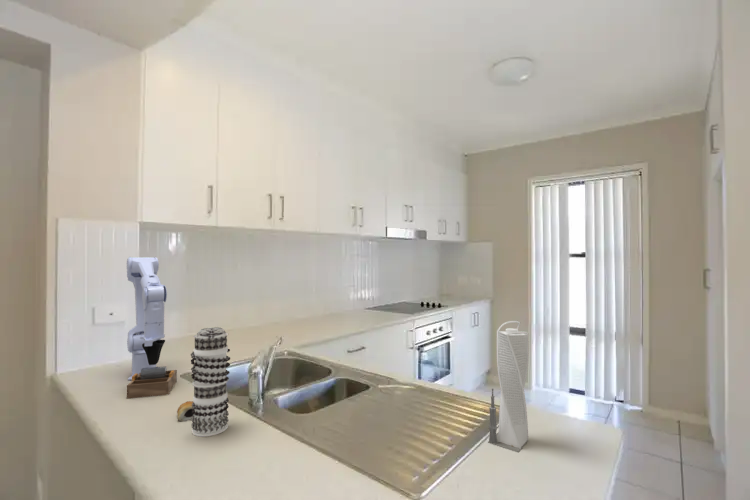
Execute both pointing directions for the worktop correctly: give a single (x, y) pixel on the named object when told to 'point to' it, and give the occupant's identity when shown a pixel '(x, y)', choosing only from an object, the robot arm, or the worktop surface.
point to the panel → (153, 373)
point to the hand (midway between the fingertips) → (153, 363)
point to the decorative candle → (210, 382)
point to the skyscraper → (511, 390)
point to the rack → (151, 385)
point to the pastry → (185, 411)
